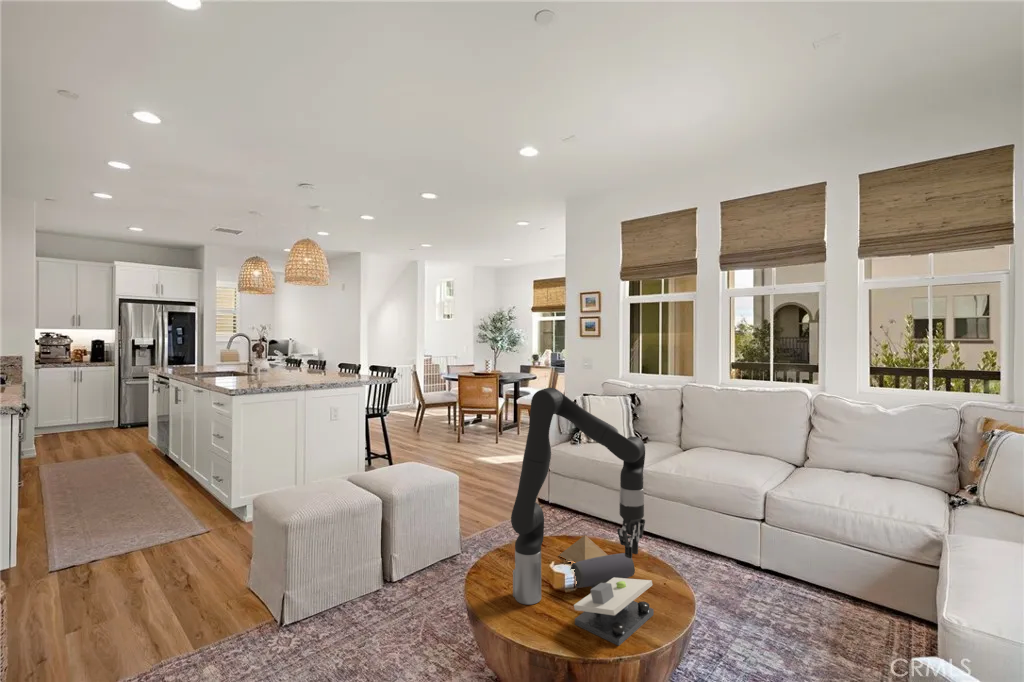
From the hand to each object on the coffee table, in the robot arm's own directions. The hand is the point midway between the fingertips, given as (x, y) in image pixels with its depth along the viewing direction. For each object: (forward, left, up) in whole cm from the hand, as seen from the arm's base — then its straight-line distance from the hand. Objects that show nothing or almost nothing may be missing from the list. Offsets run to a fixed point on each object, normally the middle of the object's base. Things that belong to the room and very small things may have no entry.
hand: (631, 555), depth 159 cm
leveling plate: (-6, 0, -16) cm, 17 cm away
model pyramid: (-38, +30, -24) cm, 54 cm away
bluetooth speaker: (-21, +17, -23) cm, 36 cm away
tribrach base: (-6, 0, -23) cm, 24 cm away
